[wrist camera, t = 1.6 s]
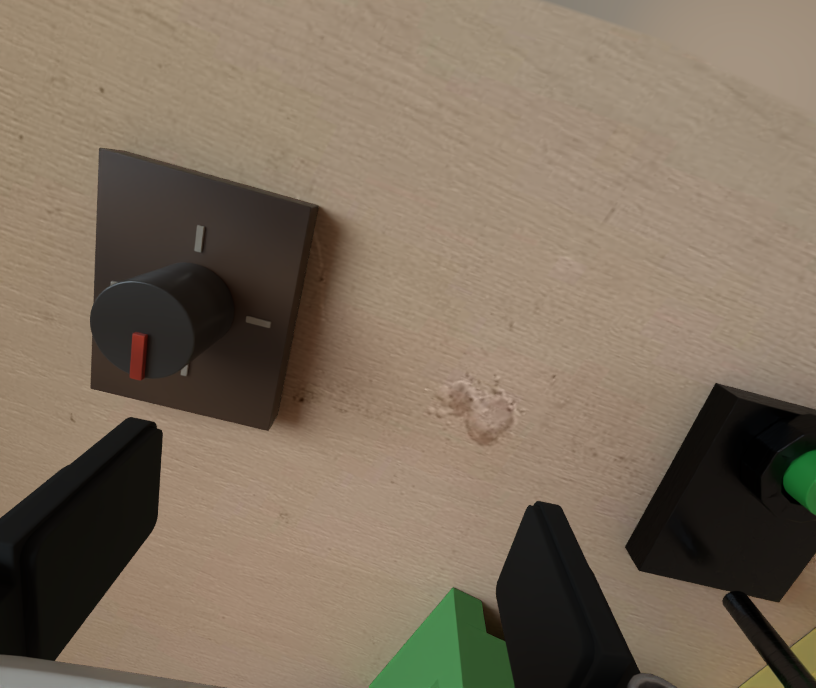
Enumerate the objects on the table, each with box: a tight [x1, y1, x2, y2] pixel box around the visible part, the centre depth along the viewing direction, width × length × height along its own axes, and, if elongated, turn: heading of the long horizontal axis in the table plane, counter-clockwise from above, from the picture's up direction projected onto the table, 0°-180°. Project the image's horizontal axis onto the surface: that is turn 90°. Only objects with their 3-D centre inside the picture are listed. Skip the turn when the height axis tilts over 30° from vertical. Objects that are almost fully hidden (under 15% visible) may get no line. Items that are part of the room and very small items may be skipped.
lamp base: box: [625, 383, 816, 602], centre depth 30 cm, size 14×11×4 cm
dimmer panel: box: [91, 148, 319, 431], centre depth 26 cm, size 14×11×2 cm
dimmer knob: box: [90, 263, 234, 381], centre depth 23 cm, size 5×5×5 cm
